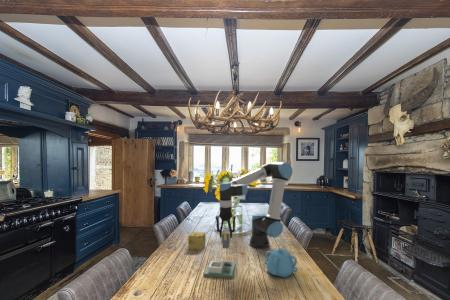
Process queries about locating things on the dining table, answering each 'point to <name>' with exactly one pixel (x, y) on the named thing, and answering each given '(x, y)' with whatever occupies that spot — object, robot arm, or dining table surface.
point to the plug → (225, 239)
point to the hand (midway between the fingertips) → (226, 242)
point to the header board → (220, 269)
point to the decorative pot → (280, 263)
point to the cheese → (196, 240)
